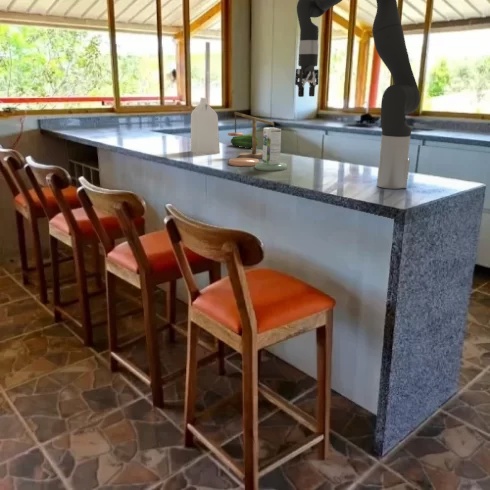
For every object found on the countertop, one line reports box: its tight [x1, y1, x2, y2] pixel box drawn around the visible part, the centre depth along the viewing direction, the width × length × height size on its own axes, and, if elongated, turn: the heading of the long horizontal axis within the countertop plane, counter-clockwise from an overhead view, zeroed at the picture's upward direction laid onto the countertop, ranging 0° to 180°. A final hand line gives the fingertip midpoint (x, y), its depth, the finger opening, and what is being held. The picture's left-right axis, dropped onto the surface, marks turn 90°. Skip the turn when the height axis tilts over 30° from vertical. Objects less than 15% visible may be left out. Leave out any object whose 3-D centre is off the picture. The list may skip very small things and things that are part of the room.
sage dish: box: [254, 161, 288, 172], centre depth 196 cm, size 13×13×2 cm
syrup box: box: [261, 126, 282, 165], centre depth 194 cm, size 6×6×14 cm
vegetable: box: [230, 133, 259, 149], centre depth 256 cm, size 7×7×20 cm
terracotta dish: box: [228, 157, 260, 167], centre depth 205 cm, size 13×13×2 cm
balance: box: [227, 111, 275, 159], centre depth 220 cm, size 24×7×20 cm, turn 91°
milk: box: [190, 97, 221, 155], centre depth 233 cm, size 12×12×26 cm
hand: (306, 96), depth 192 cm, fingers open, 8 cm apart
